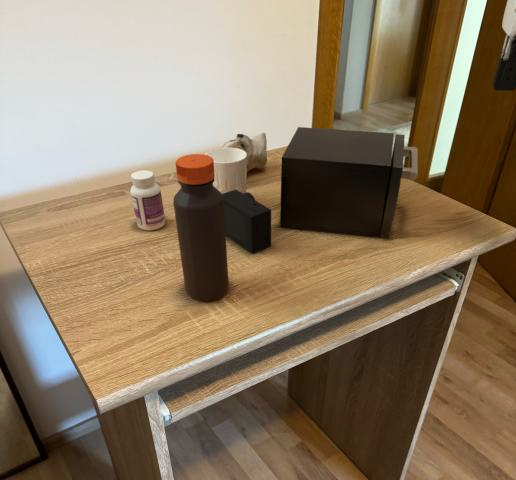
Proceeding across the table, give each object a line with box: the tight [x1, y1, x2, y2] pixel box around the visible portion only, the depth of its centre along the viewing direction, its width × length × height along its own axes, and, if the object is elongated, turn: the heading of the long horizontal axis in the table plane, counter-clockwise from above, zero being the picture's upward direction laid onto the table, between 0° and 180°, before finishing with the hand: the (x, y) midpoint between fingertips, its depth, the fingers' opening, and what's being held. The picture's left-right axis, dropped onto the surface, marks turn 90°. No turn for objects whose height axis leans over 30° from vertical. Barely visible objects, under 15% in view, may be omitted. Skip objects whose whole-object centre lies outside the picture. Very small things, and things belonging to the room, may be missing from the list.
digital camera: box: [222, 190, 272, 254], centre depth 85 cm, size 10×5×7 cm, turn 37°
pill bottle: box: [130, 169, 166, 231], centre depth 89 cm, size 5×5×10 cm
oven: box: [279, 126, 395, 238], centre depth 90 cm, size 18×16×13 cm
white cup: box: [204, 147, 248, 194], centre depth 94 cm, size 8×8×10 cm
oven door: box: [379, 133, 419, 239], centre depth 88 cm, size 4×16×13 cm, turn 166°
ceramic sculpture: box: [221, 132, 268, 172], centre depth 107 cm, size 11×9×15 cm
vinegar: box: [173, 153, 230, 302], centre depth 69 cm, size 7×7×20 cm
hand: (503, 88), depth 75 cm, fingers closed
